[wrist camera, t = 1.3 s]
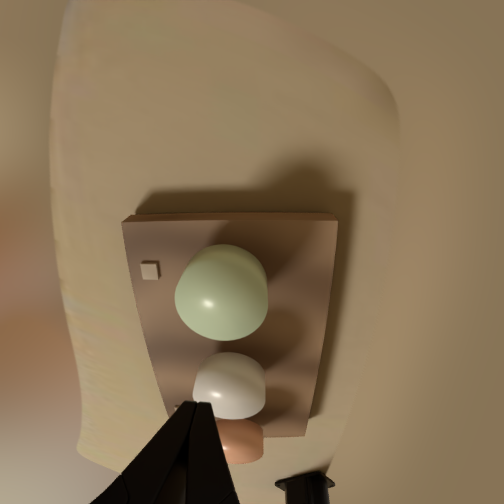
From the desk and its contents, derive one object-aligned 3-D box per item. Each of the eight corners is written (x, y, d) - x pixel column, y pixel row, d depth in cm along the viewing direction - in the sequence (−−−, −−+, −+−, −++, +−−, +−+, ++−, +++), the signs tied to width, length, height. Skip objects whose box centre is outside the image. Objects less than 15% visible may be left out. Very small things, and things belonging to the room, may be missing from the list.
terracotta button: (262, 445, 22) (262, 464, 20) (211, 443, 22) (209, 462, 20) (263, 418, 20) (263, 439, 19) (205, 416, 21) (202, 436, 19)
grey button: (264, 397, 19) (264, 420, 18) (201, 395, 20) (197, 417, 18) (265, 352, 18) (266, 376, 16) (193, 350, 18) (187, 373, 16)
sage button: (266, 318, 17) (267, 341, 15) (188, 316, 17) (181, 338, 15) (267, 244, 15) (268, 261, 13) (179, 244, 15) (168, 261, 13)
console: (303, 423, 25) (304, 437, 24) (177, 420, 25) (173, 433, 24) (332, 213, 17) (339, 222, 16) (131, 214, 18) (119, 223, 16)
